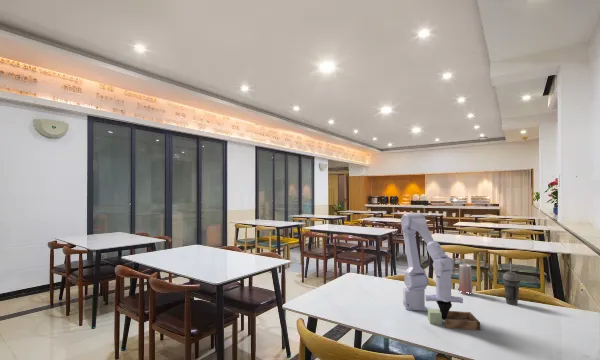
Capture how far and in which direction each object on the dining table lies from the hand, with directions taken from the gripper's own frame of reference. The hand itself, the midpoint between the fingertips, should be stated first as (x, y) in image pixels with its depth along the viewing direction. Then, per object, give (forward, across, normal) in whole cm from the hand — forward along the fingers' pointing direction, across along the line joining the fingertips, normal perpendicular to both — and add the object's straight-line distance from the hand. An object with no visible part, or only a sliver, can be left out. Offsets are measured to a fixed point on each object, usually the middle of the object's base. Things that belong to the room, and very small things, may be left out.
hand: (443, 319), depth 130 cm
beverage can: (+2, +22, +40) cm, 46 cm away
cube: (+1, -4, 0) cm, 4 cm away
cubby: (+1, +5, 0) cm, 5 cm away
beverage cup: (+2, +39, +28) cm, 48 cm away
